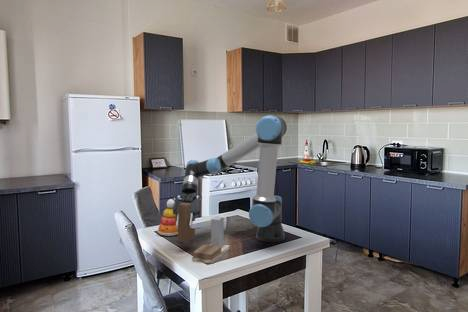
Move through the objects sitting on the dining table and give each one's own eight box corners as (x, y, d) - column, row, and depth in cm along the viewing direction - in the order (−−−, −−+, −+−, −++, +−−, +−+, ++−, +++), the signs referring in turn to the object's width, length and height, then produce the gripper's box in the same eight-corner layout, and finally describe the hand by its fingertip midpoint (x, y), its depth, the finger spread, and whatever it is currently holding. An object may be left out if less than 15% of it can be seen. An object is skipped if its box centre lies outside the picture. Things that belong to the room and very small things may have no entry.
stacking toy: (152, 234, 195) (151, 199, 194) (171, 228, 207) (170, 195, 205) (169, 238, 187) (169, 202, 185) (188, 232, 198) (188, 198, 197)
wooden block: (187, 235, 175) (188, 200, 173) (195, 237, 173) (196, 201, 171) (177, 241, 167) (178, 204, 165) (185, 242, 165) (186, 205, 163)
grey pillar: (223, 245, 172) (223, 216, 171) (219, 248, 166) (218, 219, 165) (216, 244, 173) (215, 216, 172) (211, 248, 168) (211, 219, 167)
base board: (229, 248, 172) (229, 240, 171) (213, 263, 152) (213, 254, 152) (210, 246, 175) (210, 238, 175) (192, 260, 155) (192, 252, 155)
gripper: (208, 190, 183) (204, 230, 168) (173, 190, 184) (166, 230, 169) (207, 182, 177) (202, 222, 162) (170, 182, 179) (162, 222, 163)
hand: (183, 226), depth 166 cm, fingers closed on wooden block, 6 cm apart
